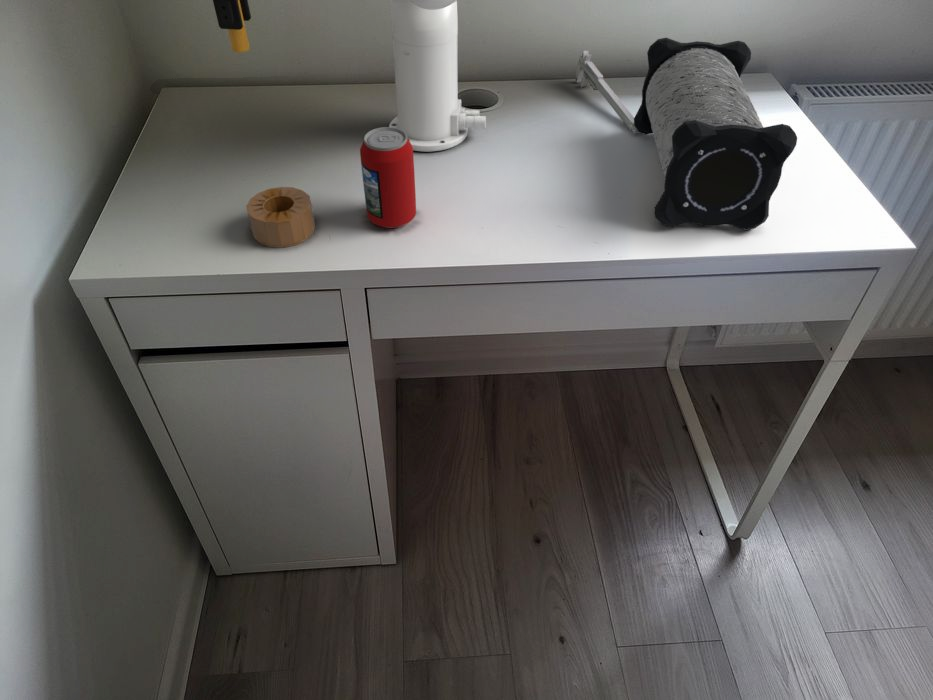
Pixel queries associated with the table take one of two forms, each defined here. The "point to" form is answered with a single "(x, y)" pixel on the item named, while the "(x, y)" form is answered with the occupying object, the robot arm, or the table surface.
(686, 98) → the speaker
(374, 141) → the beverage can
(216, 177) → the table surface
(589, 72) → the caliper
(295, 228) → the brown wooden ring
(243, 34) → the pencil
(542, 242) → the table surface
